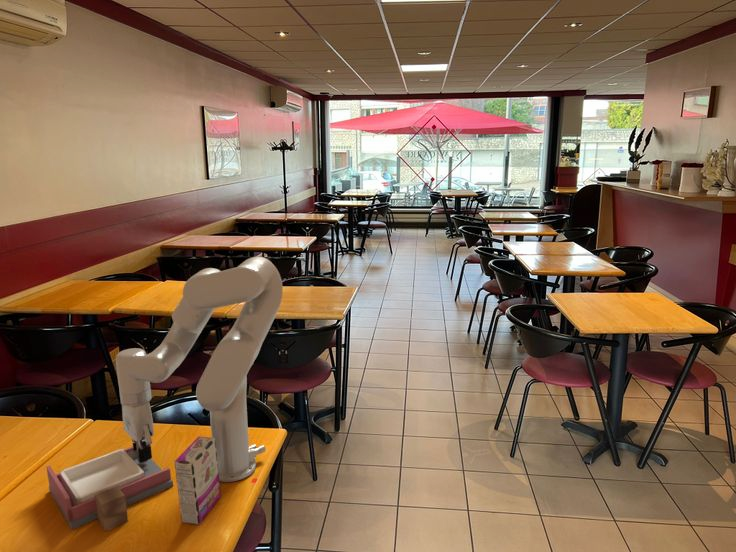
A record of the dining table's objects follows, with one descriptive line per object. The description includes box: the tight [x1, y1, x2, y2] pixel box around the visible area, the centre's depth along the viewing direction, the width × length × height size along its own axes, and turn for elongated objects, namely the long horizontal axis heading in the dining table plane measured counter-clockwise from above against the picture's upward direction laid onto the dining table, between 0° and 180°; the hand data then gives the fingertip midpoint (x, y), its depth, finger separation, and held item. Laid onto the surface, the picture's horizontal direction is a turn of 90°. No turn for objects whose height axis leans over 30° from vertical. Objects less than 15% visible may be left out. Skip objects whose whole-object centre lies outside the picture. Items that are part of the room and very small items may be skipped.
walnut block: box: [95, 486, 129, 532], centre depth 125 cm, size 5×5×7 cm
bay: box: [46, 445, 174, 530], centre depth 137 cm, size 24×20×8 cm
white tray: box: [58, 439, 148, 506], centre depth 137 cm, size 20×16×7 cm
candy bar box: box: [174, 436, 222, 526], centre depth 128 cm, size 11×5×16 cm, turn 168°
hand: (143, 456), depth 146 cm, fingers closed on white tray, 3 cm apart
